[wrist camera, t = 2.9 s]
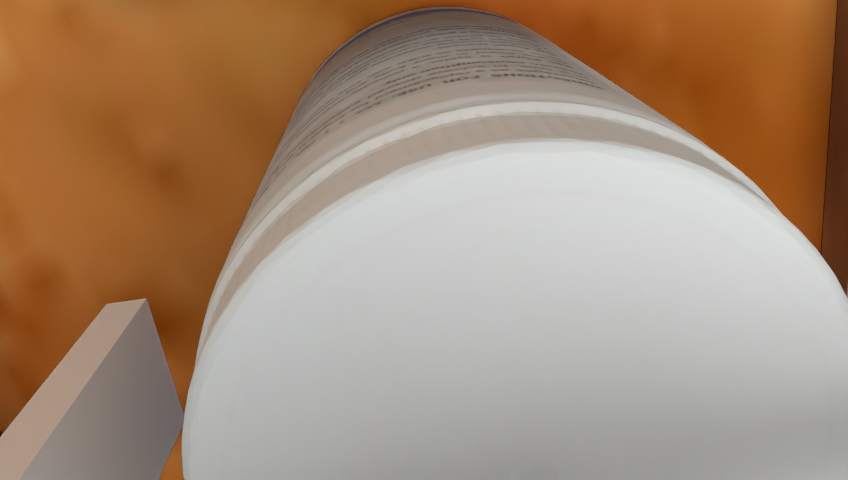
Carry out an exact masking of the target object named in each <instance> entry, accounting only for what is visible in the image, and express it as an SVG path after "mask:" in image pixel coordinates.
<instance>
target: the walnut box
mask: <svg viewBox="0 0 848 480" xmlns="http://www.w3.org/2000/svg"><path fill="white" fill-rule="evenodd" d="M821 256H822V257H823V259H824V260H825V261H826V263H827V264H828V266H829V267H830V268H831V270H832V271H833V273H834V274H835V275H836V277H837V279H838V281H839V283H840V285H841V287H842V289H843V290H844V292H845V294H846V296H847V285H848V0H838V9H837V24H836V39H835V54H834V69H833V84H832V99H831V114H830V129H829V145H828V160H827V175H826V190H825V205H824V220H823V235H822V250H821Z"/></svg>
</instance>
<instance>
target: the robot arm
mask: <svg viewBox="0 0 848 480" xmlns="http://www.w3.org/2000/svg"><path fill="white" fill-rule="evenodd" d="M847 298H848V285H847ZM183 422H184V413H183V410H182V406H181V403H180V400H179V397H178V394H177V391H176V388H175V385H174V382H173V379H172V376H171V372H170V369H169V366H168V363H167V360H166V357H165V354H164V351H163V348H162V345H161V341H160V338H159V335H158V332H157V329H156V326H155V323H154V320H153V317H152V314H151V311H150V307H149V304H148V301H147V298H144V299H137V300H130V301H123V302H116V303H109V304H106V305H105V306H104V308H103V309H102V310H101V311H100V313H99V314H98V315H97V316H96V318H95V319H94V320H93V321H92V323H91V324H90V325H89V326H88V328H87V329H86V330H85V332H84V333H83V334H82V335H81V337H80V338H79V339H78V340H77V342H76V343H75V344H74V345H73V347H72V348H71V349H70V350H69V352H68V353H67V354H66V355H65V357H64V358H63V359H62V360H61V362H60V363H59V364H58V365H57V367H56V368H55V369H54V370H53V372H52V373H51V374H50V375H49V377H48V378H47V379H46V380H45V382H44V383H43V384H42V385H41V387H40V388H39V389H38V390H37V392H36V393H35V394H34V395H33V397H32V398H31V399H30V400H29V402H28V403H27V404H26V405H25V407H24V408H23V409H22V410H21V412H20V413H19V414H18V415H17V417H16V418H15V419H14V420H13V422H12V423H11V424H10V425H9V427H8V428H7V429H6V430H5V432H4V433H3V434H2V435H1V437H0V480H159V478H160V475H161V473H162V471H163V469H164V466H165V464H166V462H167V460H168V458H169V455H170V453H171V451H172V449H173V446H174V444H175V442H176V440H177V437H178V435H179V433H180V431H181V429H182V426H183Z"/></svg>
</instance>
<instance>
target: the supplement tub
mask: <svg viewBox="0 0 848 480" xmlns="http://www.w3.org/2000/svg"><path fill="white" fill-rule="evenodd" d="M182 465H183V477H184V480H848V298H847V296H846V294H845V292H844V290H843V289H842V287H841V285H840V283H839V281H838V279H837V277H836V275H835V274H834V273H833V271H832V270H831V268H830V267H829V266H828V264H827V263H826V261H825V260H824V259H823V257H822V256H821V254H820V253H819V252H818V250H817V249H816V248H815V247H814V246H813V245H812V243H811V242H810V241H809V240H808V239H807V238H806V237H805V236H804V235H803V233H802V232H801V231H800V230H799V229H798V228H797V227H796V226H794V225H793V224H792V223H791V222H790V221H789V220H788V219H787V218H786V217H785V216H784V215H783V214H781V212H780V211H779V210H778V209H777V207H776V206H775V205H774V204H773V203H772V202H771V201H770V199H769V198H768V197H767V196H766V195H765V194H764V193H763V191H762V190H761V189H760V188H759V187H758V186H757V185H756V184H755V183H754V182H753V181H752V180H751V179H749V178H748V177H747V176H746V175H745V174H743V173H742V172H741V171H740V170H739V169H737V168H736V167H735V166H733V165H732V164H731V163H730V162H728V161H727V160H726V159H725V158H723V157H722V156H721V155H719V154H718V153H716V152H715V151H714V150H712V149H711V148H710V147H708V146H707V145H706V144H705V143H703V142H702V141H700V140H699V139H697V138H696V137H694V136H693V135H691V134H690V133H688V132H687V131H685V130H684V129H682V128H681V127H679V126H678V125H676V124H675V123H673V122H672V121H670V120H669V119H667V118H666V117H664V116H663V115H661V114H660V113H658V112H657V111H655V110H654V109H652V108H651V107H649V106H648V105H646V104H645V103H643V102H642V101H640V100H639V99H637V98H636V97H634V96H633V95H631V94H630V93H628V92H627V91H625V90H624V89H622V88H621V87H619V86H618V85H616V84H615V83H613V82H612V81H610V80H609V79H607V78H606V77H604V76H602V75H601V74H599V73H598V72H596V71H595V70H593V69H592V68H590V67H589V66H587V65H586V64H584V63H583V62H581V61H580V60H578V59H576V58H575V57H573V56H572V55H570V54H569V53H567V52H566V51H565V50H563V49H562V48H560V47H559V46H557V45H556V44H554V43H553V42H551V41H550V40H548V39H547V38H545V37H543V36H542V35H540V34H538V33H536V32H535V31H533V30H531V29H530V28H528V27H526V26H525V25H522V24H520V23H518V22H516V21H514V20H512V19H510V18H507V17H504V16H501V15H498V14H495V13H492V12H488V11H484V10H479V9H472V8H465V7H429V8H420V9H415V10H411V11H407V12H404V13H400V14H397V15H394V16H391V17H388V18H385V19H383V20H381V21H379V22H376V23H374V24H372V25H371V26H369V27H367V28H365V29H364V30H362V31H360V32H358V33H357V34H355V35H354V36H353V37H351V38H350V39H349V40H347V41H346V42H345V43H343V44H342V45H341V46H340V47H339V48H338V49H337V50H335V51H334V52H333V53H332V54H331V55H330V56H329V57H328V58H327V59H326V60H325V62H324V63H323V64H322V65H321V66H320V67H319V69H318V70H317V71H316V72H315V74H314V75H313V77H312V78H311V80H310V81H309V83H308V85H307V87H306V89H305V91H304V92H303V94H302V96H301V98H300V100H299V102H298V104H297V106H296V108H295V110H294V112H293V114H292V116H291V119H290V121H289V123H288V125H287V127H286V130H285V132H284V134H283V136H282V138H281V141H280V143H279V145H278V147H277V149H276V151H275V153H274V156H273V158H272V160H271V162H270V164H269V166H268V168H267V171H266V173H265V175H264V177H263V179H262V181H261V184H260V186H259V188H258V190H257V192H256V194H255V197H254V199H253V201H252V203H251V205H250V207H249V210H248V212H247V214H246V216H245V218H244V221H243V223H242V225H241V227H240V229H239V231H238V234H237V236H236V238H235V240H234V242H233V244H232V247H231V249H230V251H229V254H228V256H227V259H226V262H225V264H224V266H223V268H222V270H221V273H220V275H219V277H218V279H217V282H216V285H215V287H214V290H213V293H212V296H211V298H210V301H209V304H208V308H207V311H206V315H205V319H204V323H203V327H202V332H201V336H200V340H199V345H198V349H197V354H196V361H195V368H194V372H193V376H192V379H191V383H190V387H189V390H188V396H187V401H186V406H185V413H184V422H183V432H182Z"/></svg>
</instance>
